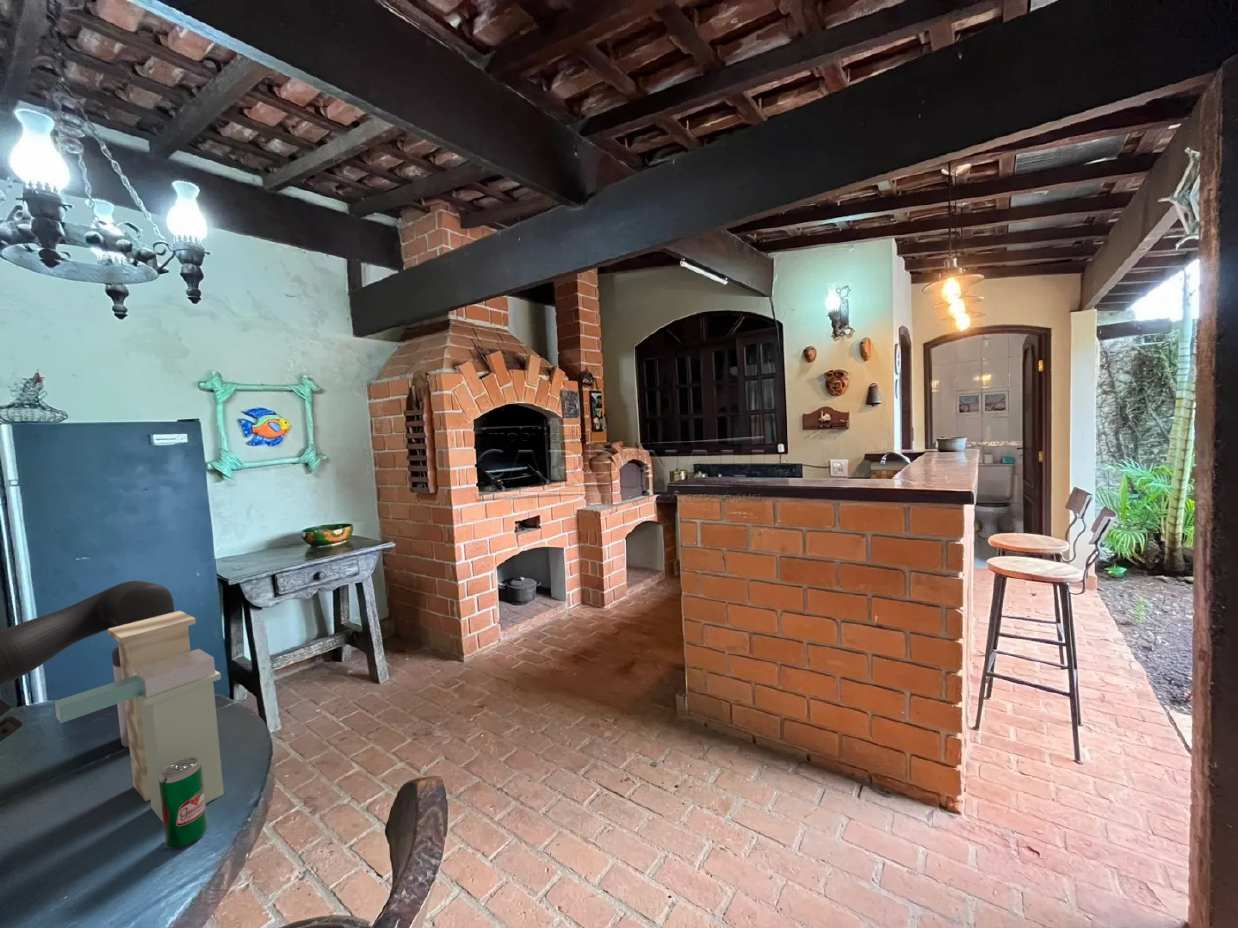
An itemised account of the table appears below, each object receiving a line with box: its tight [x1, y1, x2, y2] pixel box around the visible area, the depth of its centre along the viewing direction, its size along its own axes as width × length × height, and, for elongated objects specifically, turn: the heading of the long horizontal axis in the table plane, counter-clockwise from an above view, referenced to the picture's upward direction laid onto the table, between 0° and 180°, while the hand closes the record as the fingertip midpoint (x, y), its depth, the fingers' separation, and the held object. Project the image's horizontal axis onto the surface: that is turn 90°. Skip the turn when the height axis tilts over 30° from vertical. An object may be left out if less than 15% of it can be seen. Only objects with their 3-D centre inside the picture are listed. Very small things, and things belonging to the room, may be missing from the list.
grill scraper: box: [54, 648, 216, 724], centre depth 82 cm, size 7×18×3 cm, turn 147°
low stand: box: [135, 669, 225, 823], centre depth 87 cm, size 8×10×22 cm
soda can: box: [159, 757, 208, 850], centre depth 79 cm, size 5×5×12 cm
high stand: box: [107, 610, 197, 802], centre depth 92 cm, size 8×10×30 cm
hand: (11, 710), depth 70 cm, fingers open, 8 cm apart
